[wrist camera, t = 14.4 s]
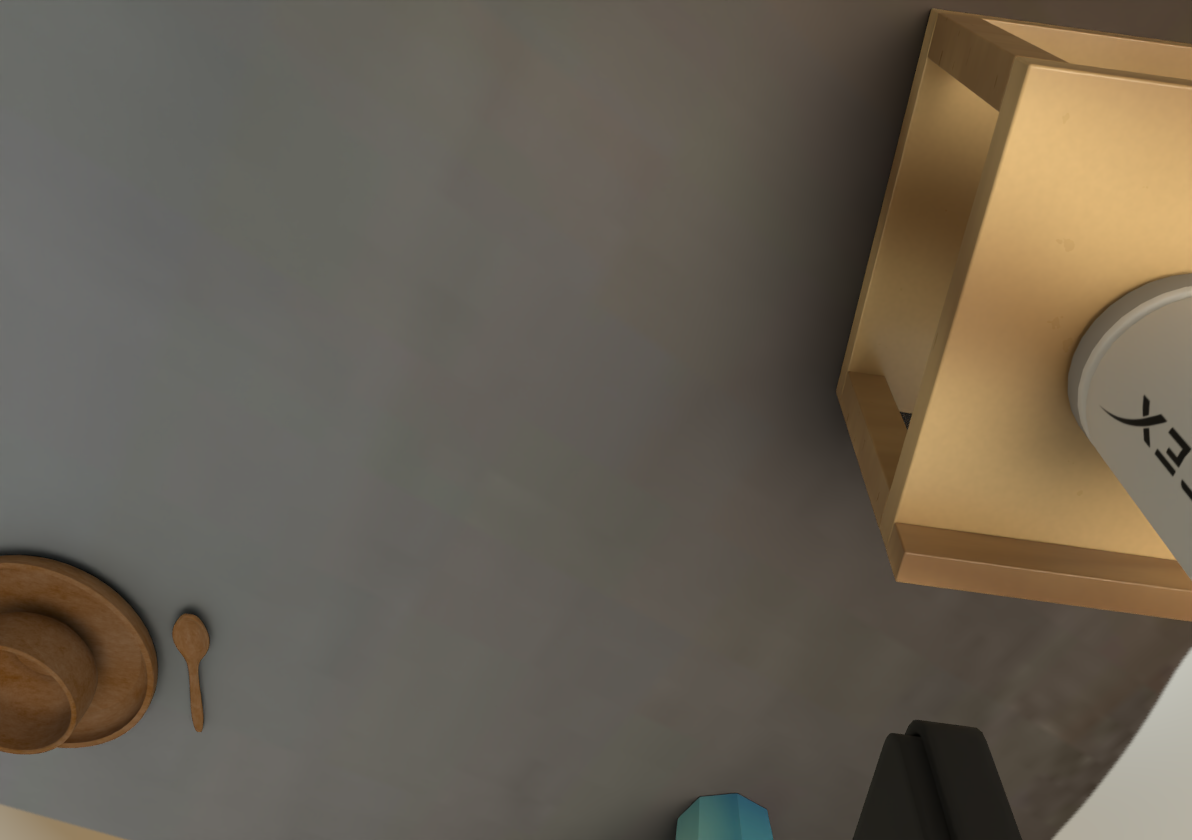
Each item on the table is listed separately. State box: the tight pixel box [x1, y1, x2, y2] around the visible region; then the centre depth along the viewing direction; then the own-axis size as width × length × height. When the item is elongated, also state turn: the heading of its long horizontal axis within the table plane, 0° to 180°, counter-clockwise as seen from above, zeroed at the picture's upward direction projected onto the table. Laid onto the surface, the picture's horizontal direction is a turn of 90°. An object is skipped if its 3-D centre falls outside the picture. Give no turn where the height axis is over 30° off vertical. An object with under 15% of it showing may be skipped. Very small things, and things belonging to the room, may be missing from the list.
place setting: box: [0, 555, 210, 754], centre depth 52 cm, size 18×20×6 cm
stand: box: [836, 9, 1192, 622], centre depth 38 cm, size 16×14×14 cm
